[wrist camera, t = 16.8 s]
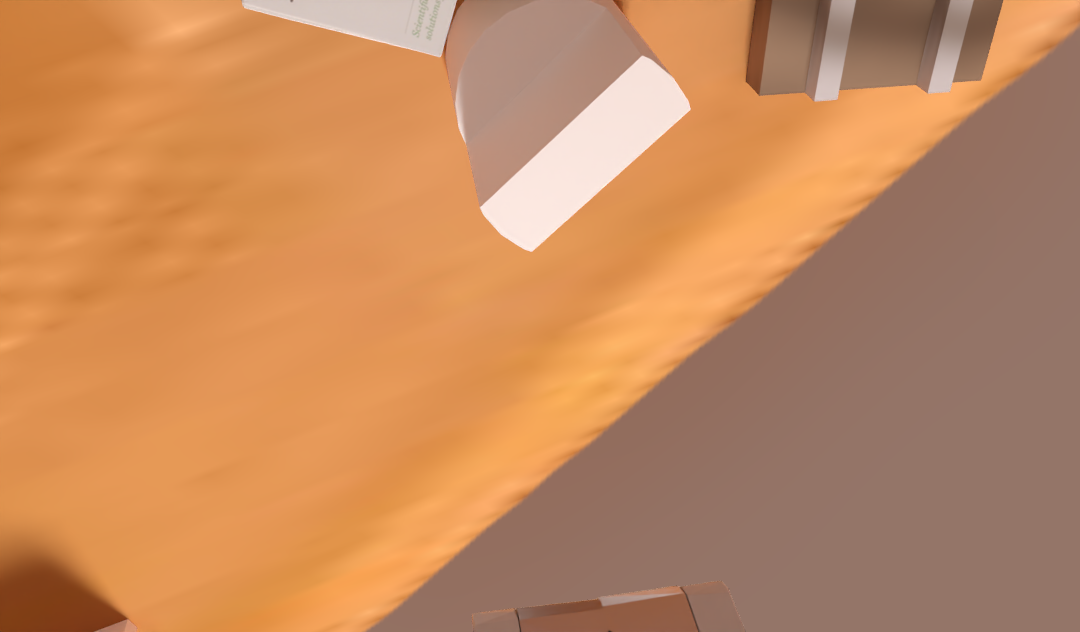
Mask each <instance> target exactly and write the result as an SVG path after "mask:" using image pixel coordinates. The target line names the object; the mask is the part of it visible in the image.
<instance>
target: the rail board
mask: <svg viewBox="0 0 1080 632" xmlns="http://www.w3.org/2000/svg"><path fill="white" fill-rule="evenodd" d="M1002 3H1003V0H756V5H755V13H754V21H753V29H752V37H751V45H750V53H749V61H748V69H747V77H746V82H747V83H748V84H749V85H750V86H751V87H752V88H753V89H754V90H755V91H756V93H757V94H758V95H759V96H761V95H775V94H790V93H804V92H805V93H806V94H807V95H808V96H809V97H810V98H811V99H812V100H813V101H826V100H837V99H838V93H839V90H848V89H863V88H877V87H892V86H907V85H917V86H918V87H920V88H921V89H922V90H924V91H925V92H926V93H941V92H950V89H951V86H952V82H965V81H980V80H981V78H982V75H983V71H984V68H985V64H986V60H987V57H988V53H989V50H990V46H991V42H992V39H993V35H994V32H995V28H996V25H997V21H998V17H999V14H1000V10H1001V7H1002Z"/></svg>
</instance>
